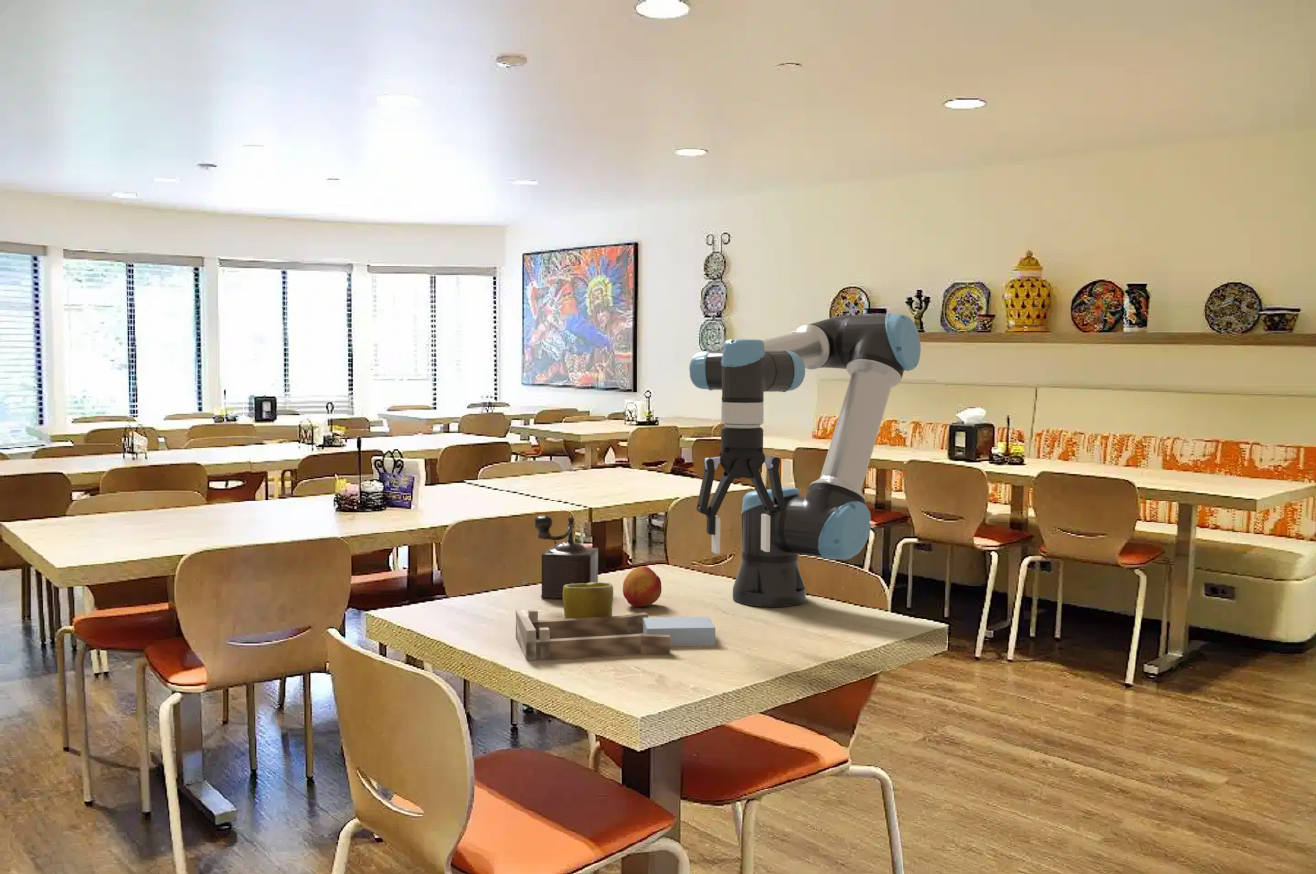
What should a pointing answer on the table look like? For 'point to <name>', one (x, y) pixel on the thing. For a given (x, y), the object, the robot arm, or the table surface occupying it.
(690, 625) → the pale blue block
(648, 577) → the fruit
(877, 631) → the table surface
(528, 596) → the table surface
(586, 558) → the manual coffee grinder
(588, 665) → the table surface
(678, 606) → the table surface
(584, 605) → the mug
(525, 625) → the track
